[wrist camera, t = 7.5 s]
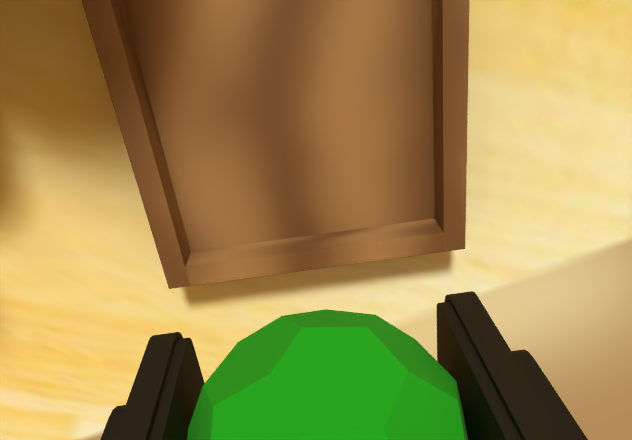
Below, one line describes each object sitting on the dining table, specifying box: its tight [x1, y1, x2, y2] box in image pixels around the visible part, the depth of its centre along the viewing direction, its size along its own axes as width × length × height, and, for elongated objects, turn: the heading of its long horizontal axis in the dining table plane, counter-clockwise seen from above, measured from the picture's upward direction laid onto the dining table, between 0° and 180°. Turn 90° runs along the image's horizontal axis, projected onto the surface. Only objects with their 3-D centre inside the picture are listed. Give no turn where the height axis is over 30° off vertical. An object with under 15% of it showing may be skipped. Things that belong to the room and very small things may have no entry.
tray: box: [82, 0, 469, 289], centre depth 20 cm, size 14×18×2 cm
